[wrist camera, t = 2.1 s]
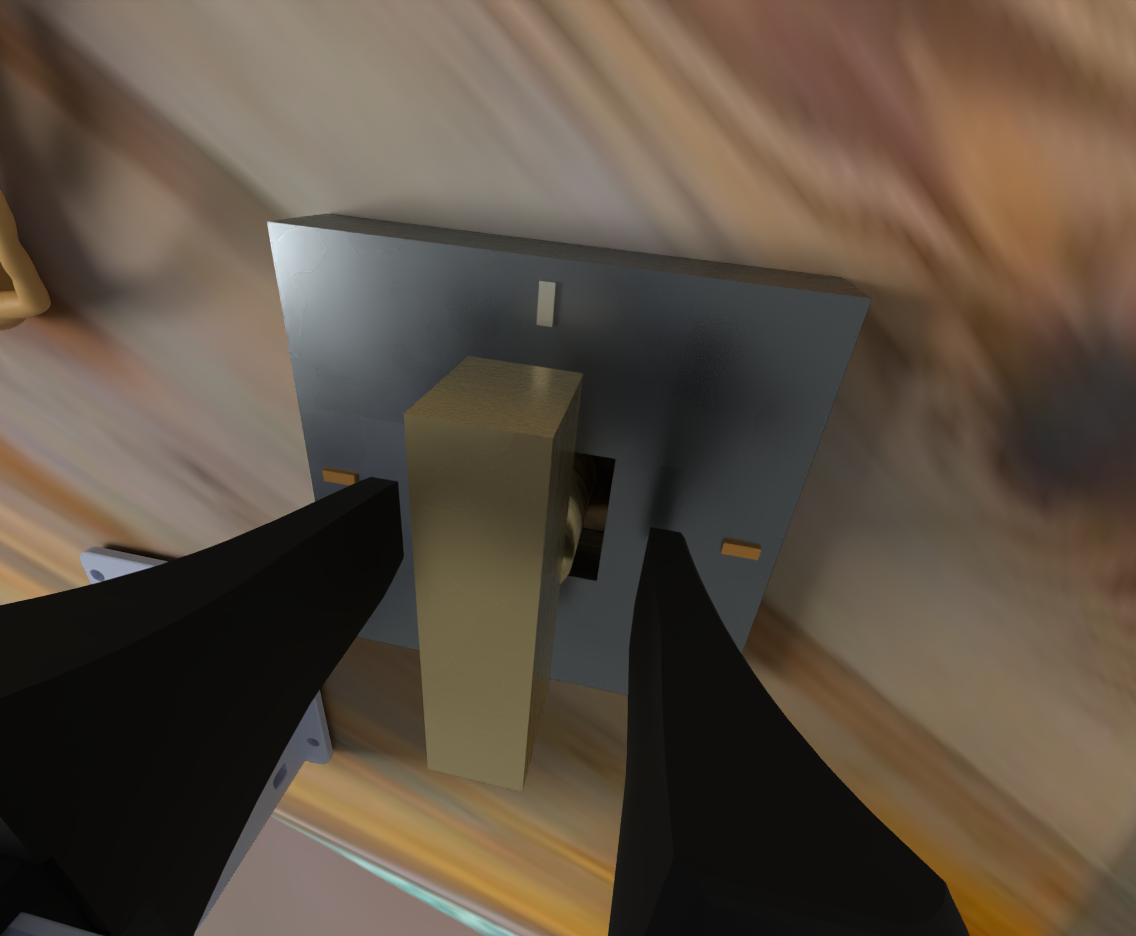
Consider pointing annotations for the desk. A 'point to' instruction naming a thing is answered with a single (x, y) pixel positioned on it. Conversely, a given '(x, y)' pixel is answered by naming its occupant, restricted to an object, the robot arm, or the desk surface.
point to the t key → (492, 555)
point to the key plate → (608, 399)
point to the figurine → (17, 276)
